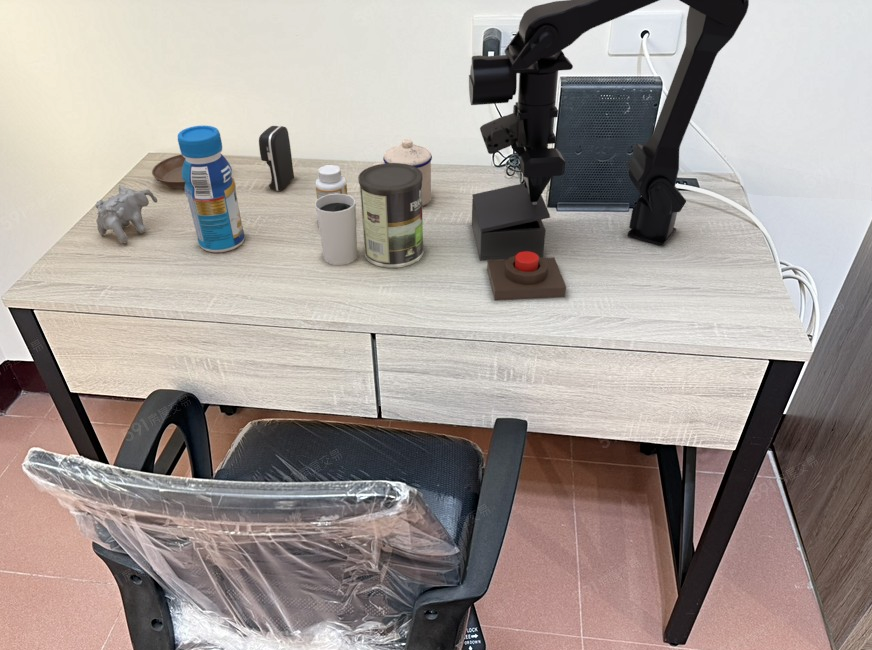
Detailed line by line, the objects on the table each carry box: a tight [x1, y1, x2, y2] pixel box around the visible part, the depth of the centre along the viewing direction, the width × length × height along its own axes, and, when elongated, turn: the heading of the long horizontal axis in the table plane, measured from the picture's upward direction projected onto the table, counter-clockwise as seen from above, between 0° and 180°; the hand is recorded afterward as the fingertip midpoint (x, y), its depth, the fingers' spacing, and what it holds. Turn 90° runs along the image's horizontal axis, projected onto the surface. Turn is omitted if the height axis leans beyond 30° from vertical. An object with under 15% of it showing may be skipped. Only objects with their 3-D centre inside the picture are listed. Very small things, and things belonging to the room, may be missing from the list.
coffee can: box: [357, 162, 424, 269], centre depth 117 cm, size 10×10×14 cm
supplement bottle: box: [315, 164, 349, 200], centre depth 128 cm, size 6×6×10 cm
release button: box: [515, 251, 539, 272], centre depth 111 cm, size 4×4×2 cm
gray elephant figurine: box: [95, 185, 158, 244], centre depth 129 cm, size 9×12×8 cm
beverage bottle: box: [177, 125, 246, 253], centre depth 120 cm, size 8×8×20 cm
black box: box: [471, 198, 547, 262], centre depth 122 cm, size 11×13×5 cm
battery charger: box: [258, 125, 295, 192], centre depth 141 cm, size 7×4×11 cm, turn 162°
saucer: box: [151, 153, 186, 190], centre depth 147 cm, size 15×15×3 cm
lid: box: [471, 177, 551, 232], centre depth 118 cm, size 11×13×4 cm
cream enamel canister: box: [371, 139, 433, 207], centre depth 134 cm, size 12×9×12 cm
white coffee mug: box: [314, 194, 358, 266], centre depth 118 cm, size 7×7×10 cm
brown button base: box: [486, 255, 567, 301], centre depth 112 cm, size 11×9×4 cm
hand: (530, 194), depth 118 cm, fingers closed on lid, 5 cm apart
